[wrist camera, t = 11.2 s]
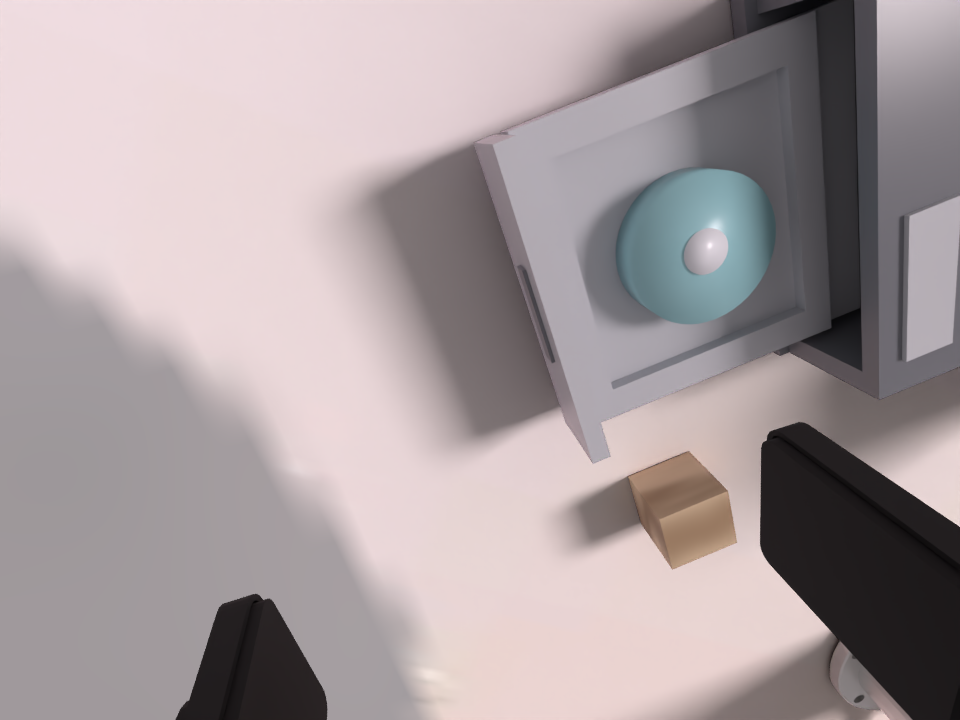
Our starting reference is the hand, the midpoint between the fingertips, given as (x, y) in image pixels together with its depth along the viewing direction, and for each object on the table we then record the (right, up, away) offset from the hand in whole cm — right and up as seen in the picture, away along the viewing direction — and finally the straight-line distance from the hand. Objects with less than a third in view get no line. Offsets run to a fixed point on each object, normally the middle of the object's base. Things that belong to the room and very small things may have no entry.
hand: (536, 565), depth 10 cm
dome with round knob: (+7, +9, +12) cm, 17 cm away
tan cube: (+9, -3, +20) cm, 22 cm away
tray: (+8, +9, +13) cm, 17 cm away
